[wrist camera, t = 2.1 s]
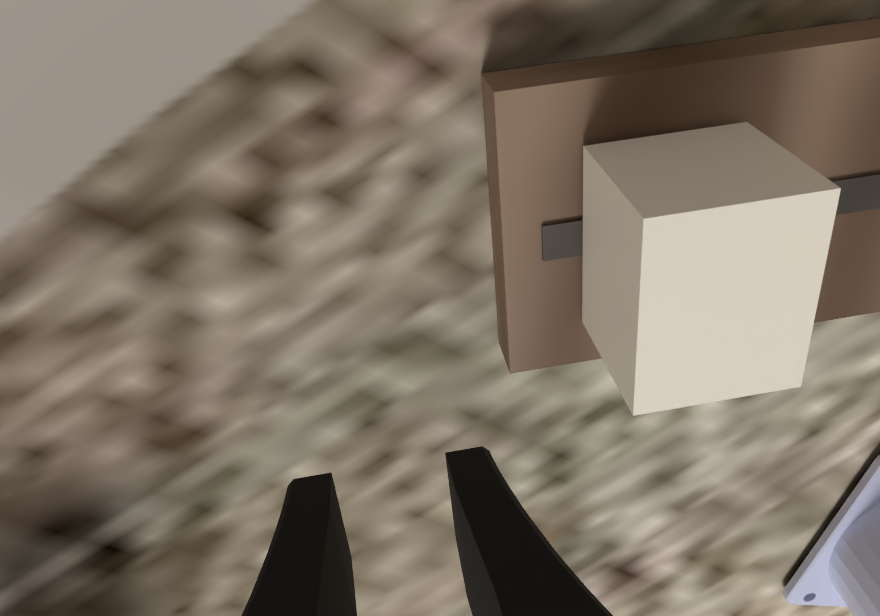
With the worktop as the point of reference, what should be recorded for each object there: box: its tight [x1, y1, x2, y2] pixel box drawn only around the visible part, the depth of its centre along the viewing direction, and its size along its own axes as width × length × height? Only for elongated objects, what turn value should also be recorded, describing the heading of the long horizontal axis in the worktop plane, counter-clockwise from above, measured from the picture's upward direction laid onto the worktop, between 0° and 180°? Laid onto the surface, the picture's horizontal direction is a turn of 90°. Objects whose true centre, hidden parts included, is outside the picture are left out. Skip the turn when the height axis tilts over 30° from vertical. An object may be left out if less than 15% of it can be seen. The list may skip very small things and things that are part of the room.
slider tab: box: [582, 122, 841, 416], centre depth 18 cm, size 4×5×4 cm
